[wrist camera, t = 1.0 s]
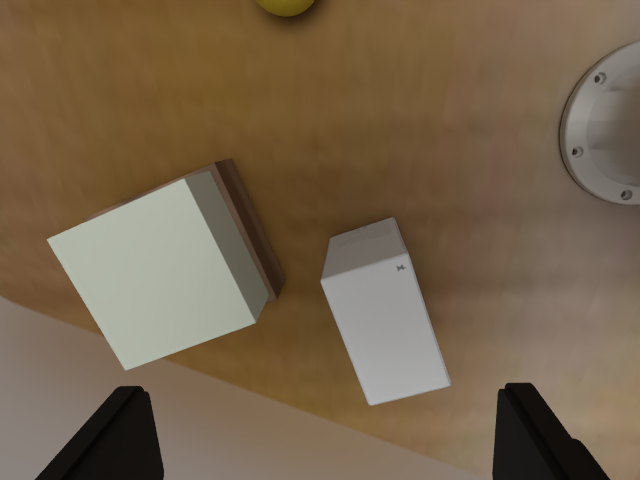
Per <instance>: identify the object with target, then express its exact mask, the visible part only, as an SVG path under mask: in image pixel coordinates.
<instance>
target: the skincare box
mask: <svg viewBox="0 0 640 480" xmlns="http://www.w3.org/2000/svg"><path fill="white" fill-rule="evenodd" d="M320 282H321V285H322V287H323V290H324V293H325V295H326V298H327V300H328V303H329V305H330V308H331V311H332V313H333V316H334V318H335V321H336V323H337V326H338V328H339V331H340V333H341V336H342V338H343V341H344V344H345V346H346V349H347V351H348V354H349V356H350V359H351V361H352V364H353V366H354V369H355V372H356V374H357V377H358V379H359V382H360V384H361V387H362V389H363V392H364V394H365V397H366V399H367V402H368V404H369V405H370V406H371V405H376V404H381V403H385V402H389V401H393V400H397V399H401V398H405V397H409V396H413V395H417V394H421V393H425V392H429V391H433V390H437V389H441V388H445V387H448V386H450V384H451V380H450V377H449V375H448V372H447V369H446V366H445V363H444V361H443V358H442V355H441V352H440V349H439V346H438V343H437V340H436V337H435V334H434V331H433V328H432V325H431V321H430V318H429V315H428V312H427V309H426V306H425V303H424V300H423V297H422V294H421V291H420V287H419V284H418V281H417V278H416V275H415V272H414V269H413V266H412V263H411V260H410V256H409V254H408V251H407V248H406V246H405V244H404V242H403V240H402V237H401V234H400V231H399V228H398V226H397V223H396V220H395V218H394V217H391V218H388V219H385V220H382V221H379V222H376V223H373V224H370V225H367V226H364V227H361V228H358V229H355V230H352V231H349V232H346V233H343V234H340V235H337V236H334V237H331V238H330V240H329V245H328V250H327V255H326V260H325V264H324V269H323V273H322V277H321V281H320Z"/></svg>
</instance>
